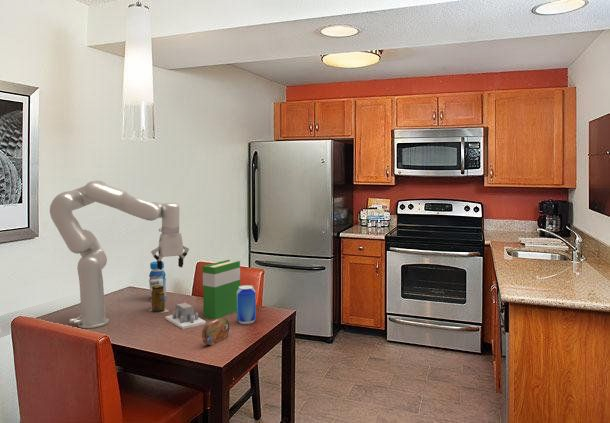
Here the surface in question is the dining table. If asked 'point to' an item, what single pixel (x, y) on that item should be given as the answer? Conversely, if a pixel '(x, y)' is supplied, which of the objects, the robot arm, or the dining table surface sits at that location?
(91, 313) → the robot arm
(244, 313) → the beer can
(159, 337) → the dining table surface
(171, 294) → the dining table surface
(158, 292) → the condiment
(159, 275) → the beverage bottle
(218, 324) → the tin
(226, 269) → the hardback book
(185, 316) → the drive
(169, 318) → the white peg board
